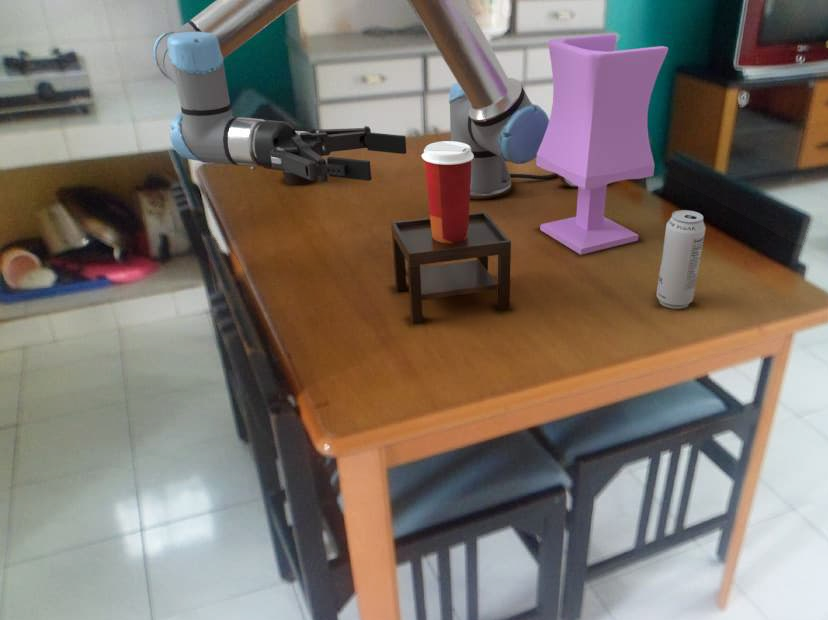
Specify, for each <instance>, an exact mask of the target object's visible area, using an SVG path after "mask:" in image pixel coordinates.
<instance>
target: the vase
mask: <svg viewBox="0 0 828 620" xmlns="http://www.w3.org/2000/svg"><path fill="white" fill-rule="evenodd" d="M617 38H618V36H617V34H614V33H605V34H604V33H602V34H595V35H594V34H593V35H582V36H572V37H560V38H552V39H549V40H548V42H547V45H548V51H549V58H550V65H551V72H552V86H553V89H552V93H553V94H552V104H551V109H550V116H549V123H548V126H547V130H546V132H545V135H544V138H543V140H542V143H541V145H540V147H539V150H538V152H537V157H536V158H535V159H536V160H535V165H536V166H537V167H539V168H541V169H542V170H545V171H548V172H550V173H551V172H552V173H553V174H555V173H557V174H559V175H561V176H563V177H565V178H566V179H567V180H569V181H570V182H572V183H573V184H574V185H576V186H578V187H577V203H576V214H575V216H573V217H572V216H571V217H567V218H563V219H558V220H553V221H550V222H546V223H540V230H539V231H541V232H543V233H544V234H546V235H548V236H549V237H551V238H552V239H554V240H556V241H558V242H559V243H560V244H562V245H564V246H565V247H568V248H569V249H571V250H572V251H574V252H575V253H577V254H579V255H580V256H582V255H586V254H590V253H594V252H598V251H602V250H606V249H609V248H614V247H618V246H621V245H626V244H630V243H633V242H638V241H639V234H637V233H636V232H634V231H632V230H630V229H628V228H626V227H625V226H623V225H621V224H619V223H617V222H615V221H613V220H611V219H609V218H607V217H605V209H606V199H607V198H606V197H607V190H608V189H607V187H608V185H609V184H612V183H616V182H621V181H625V180H640V179H645V178H650V177H654V175H655V174H654V173H655V161H654V157H653V153H652V149H651V143H650V139H649V138H650V137H649V130H648V129H649V128H648V118H649V117H648V115H649V113H648V112H649V107H650V106H649V105H650V101H651V97H652V93H653V90H654V87H655V83H656V81H657V79H658V75H659V73H660V70H661V68H662V65H663V63H664V61H665V59H666V56H667V54H668V51H669V47H668V46H664V45H661V46H649V47H640V48H631V49H623V50H621V49H620V50H616V47H617V40H618V39H617Z"/></svg>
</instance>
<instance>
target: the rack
mask: <svg viewBox="0 0 828 620" xmlns="http://www.w3.org/2000/svg"><path fill="white" fill-rule="evenodd" d="M390 226H391V241H392V257H393V269H394V272H393V273H394V284H395V285H394V287H395V289H396V291H397V293H398V292H405V291H406V292H407V290H408V296H409V313H410V314H409V315H410V320H411V322H412V324H420V323H423V321H424V320H423V319H424V317H423V301H427V300H434V299H442V298H448V297H455V296H462V295H469V294H470V295H471V294H477V293H483V292H484V293H485V292H492V291H496V292H497V297H496V299H497V300H496V307H497V309H498V310H499V311H501V312H502V311H507V310H510V300H511V264H512V263H511V261H512V259H511V258H512V241H511V239H510V238H509V237H508V236H507V235H506V234H505V233H504V232H503V231H502V229H501V228H500V227H499V225H498V224H497V223H496V222H495V221H494V220H493V219H492V218H491V217H490V215H489V214H488V213H487V211H481V212H480V211H479V212H473V213H472V212H471V213H469V222H468V235H467V238H466V239H465V240H464V241H461V242H458V243H442V242H438V241H436V240H434V239H433V236H432V230H431V221H430V217H426V218H416V219H407V220H406V219H405V220H399V221H391V222H390ZM494 256H497V282H496V280H495V279H494V278H493V276H492V275H491V274H490V272H489V257H494ZM469 259H475V260H469ZM461 260H462V261H461ZM463 260H466V261H463ZM455 261H459V262H455ZM406 262H407V264H406ZM445 262H452V263H445ZM438 263H444V264H438ZM430 264H435V265H430ZM406 265H407V268H406ZM422 265H423V266H422ZM424 265H428V266H424ZM407 280H408V287H407Z"/></svg>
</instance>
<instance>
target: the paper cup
mask: <svg viewBox="0 0 828 620" xmlns="http://www.w3.org/2000/svg"><path fill="white" fill-rule="evenodd" d="M420 155H421V158H422V160H423V161H424V169H425V170H424V171H425V180H426V189H427V190H426V191H427V200H428V201H427V202H428V211H429V218H430V221H431V230H432V236H433V239H434V240H436V241H438V242H442V243H458V242H461V241H464V240H465V239H466V238H467V235H468V222H469V214H470V203H471V202H470V201H471V199H470V186H471V162H472V159H473V158H474V155H473V153H472V152H471V148H470V146H469V145H467V144H465V143H461V142H455V141H451V140H442V141H435V142H432V143H429V144H427V145H426V146H425V147H424V149H423V153H422V154H420Z"/></svg>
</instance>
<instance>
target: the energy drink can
mask: <svg viewBox="0 0 828 620" xmlns="http://www.w3.org/2000/svg"><path fill="white" fill-rule="evenodd" d="M706 229H707V228H706V224H705V222H704V215H703V214H701V213H700V212H697V211H694V210H688V209H681V210H675V211H673V212H672V213H671V217H670V218H669V219H668V221H667V223H666V226H665V233H664V240H663V247H662V253H661V259H660V260H661V261H660V267H659V268H660V269H659V274H658V281H657V287H656V298H657V299H658V303H659V304H661V306H663V307H665V308H669V309H673V310H674V309H675V310H681V309H685V308H687V307H688V306H689V305H690V304H691V303H692V302H693V301H694V298H695V291H696V285H697V280H698V275H699V269H700V263H701V257H702V251H703V246H704V240H705V236H706V235H705V234H706Z"/></svg>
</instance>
